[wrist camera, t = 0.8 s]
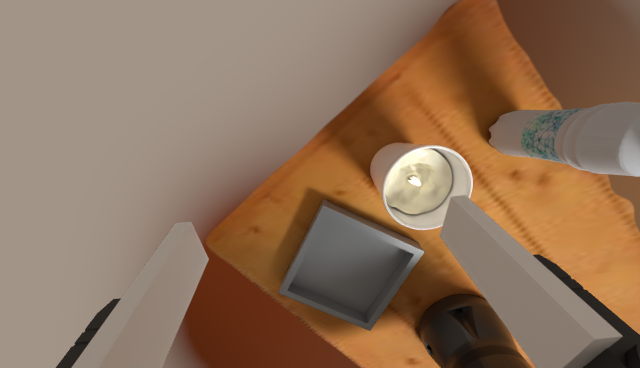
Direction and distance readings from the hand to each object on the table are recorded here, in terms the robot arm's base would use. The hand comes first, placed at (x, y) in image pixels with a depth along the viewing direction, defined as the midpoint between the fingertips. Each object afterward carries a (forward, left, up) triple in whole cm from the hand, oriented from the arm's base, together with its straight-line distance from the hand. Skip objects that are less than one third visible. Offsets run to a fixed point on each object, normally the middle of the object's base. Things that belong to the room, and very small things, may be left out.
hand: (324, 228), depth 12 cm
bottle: (-23, -15, -26) cm, 38 cm away
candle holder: (-11, -3, -26) cm, 28 cm away
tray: (-12, +16, -25) cm, 32 cm away
